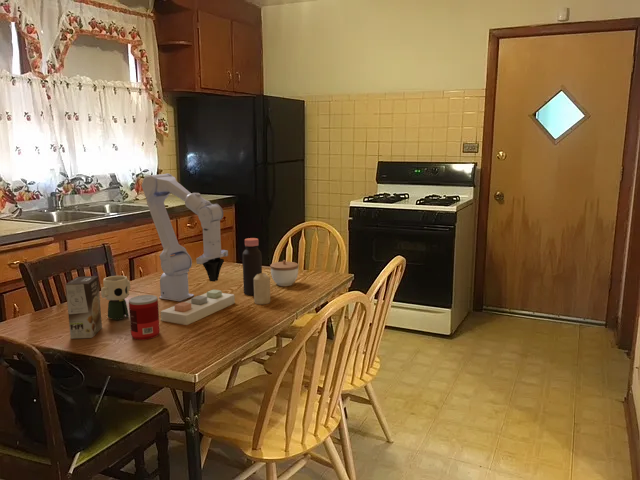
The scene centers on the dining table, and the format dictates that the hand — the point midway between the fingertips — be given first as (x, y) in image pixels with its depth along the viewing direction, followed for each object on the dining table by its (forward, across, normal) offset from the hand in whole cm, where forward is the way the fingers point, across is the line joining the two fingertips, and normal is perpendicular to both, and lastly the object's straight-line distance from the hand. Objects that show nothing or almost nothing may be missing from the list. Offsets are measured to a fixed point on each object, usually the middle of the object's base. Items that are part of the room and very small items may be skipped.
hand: (213, 280), depth 187 cm
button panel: (+8, -8, 0) cm, 12 cm away
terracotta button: (+7, -16, 0) cm, 17 cm away
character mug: (+9, -24, +19) cm, 32 cm away
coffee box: (+9, -38, +17) cm, 43 cm away
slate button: (+7, -8, 0) cm, 10 cm away
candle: (+9, +10, -13) cm, 18 cm away
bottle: (+9, +18, -4) cm, 20 cm away
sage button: (+7, 0, 0) cm, 7 cm away
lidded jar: (+9, +34, -8) cm, 35 cm away
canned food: (+9, -32, 0) cm, 34 cm away
